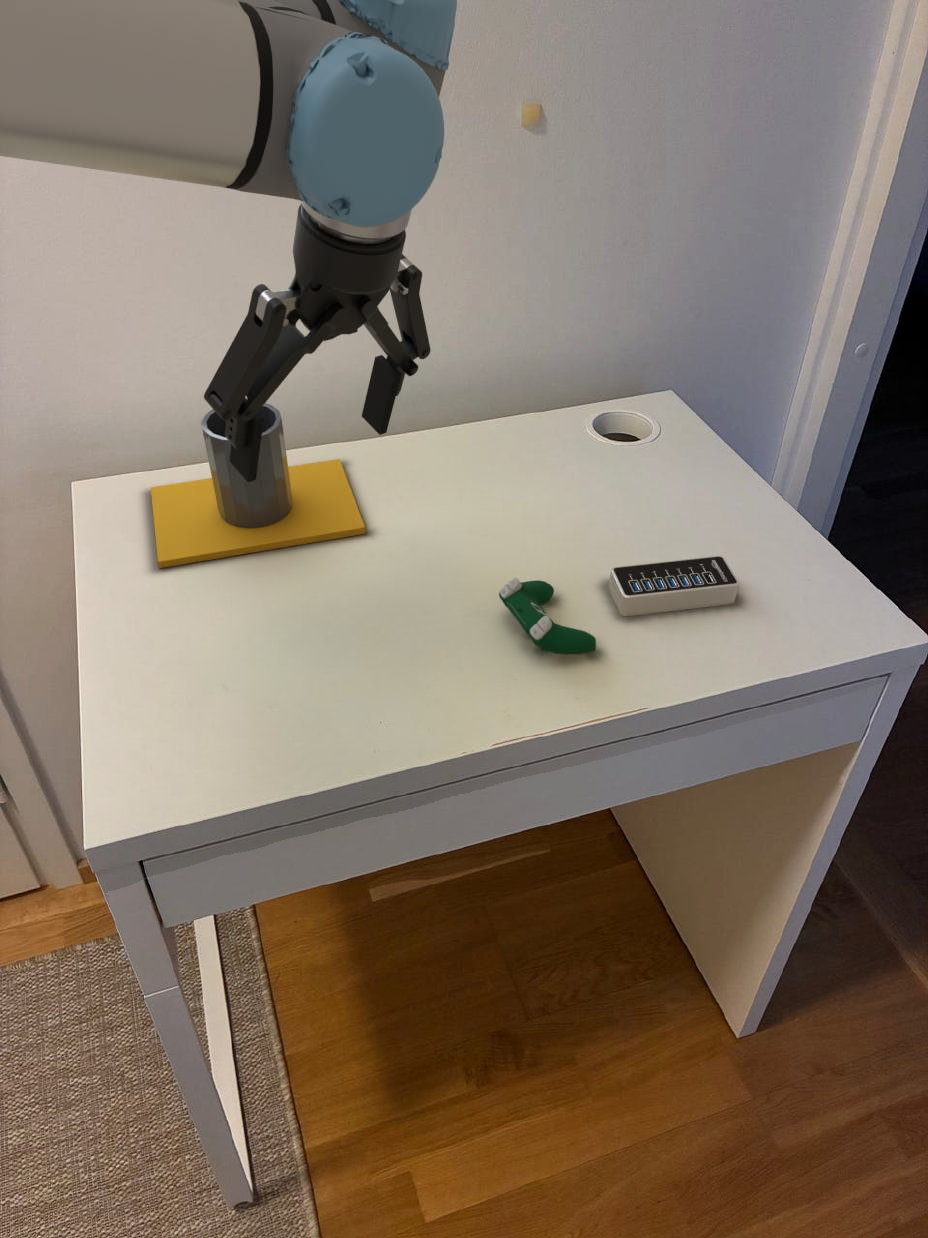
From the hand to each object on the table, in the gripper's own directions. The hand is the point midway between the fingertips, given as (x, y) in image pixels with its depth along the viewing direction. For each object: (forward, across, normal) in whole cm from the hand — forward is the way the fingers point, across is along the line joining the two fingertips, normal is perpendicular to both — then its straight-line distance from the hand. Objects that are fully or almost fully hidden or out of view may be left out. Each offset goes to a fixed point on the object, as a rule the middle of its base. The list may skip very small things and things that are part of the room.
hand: (311, 446), depth 82 cm
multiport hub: (+5, +23, -26) cm, 35 cm away
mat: (+17, +2, +8) cm, 19 cm away
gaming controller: (+7, +10, -22) cm, 26 cm away
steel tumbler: (+16, +2, +8) cm, 18 cm away
